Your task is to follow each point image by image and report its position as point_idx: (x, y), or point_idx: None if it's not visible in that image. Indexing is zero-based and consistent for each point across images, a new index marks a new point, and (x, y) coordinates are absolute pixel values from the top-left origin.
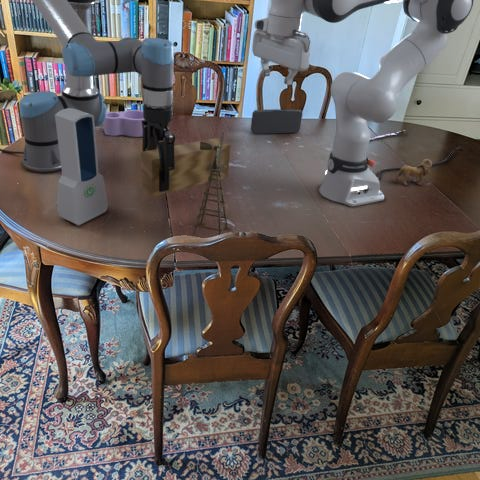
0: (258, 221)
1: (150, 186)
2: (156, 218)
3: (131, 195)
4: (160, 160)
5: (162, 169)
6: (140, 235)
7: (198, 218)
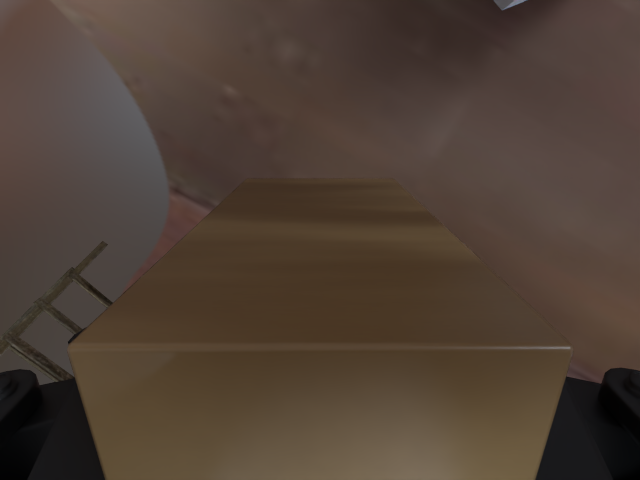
0: None
1: (256, 193)
2: None
3: (548, 194)
4: (95, 459)
5: None
6: (205, 53)
7: (40, 302)
